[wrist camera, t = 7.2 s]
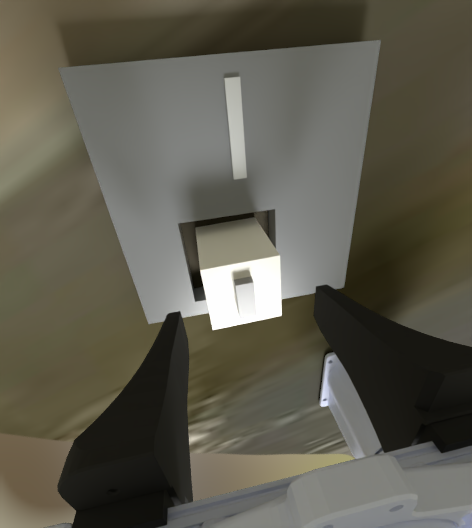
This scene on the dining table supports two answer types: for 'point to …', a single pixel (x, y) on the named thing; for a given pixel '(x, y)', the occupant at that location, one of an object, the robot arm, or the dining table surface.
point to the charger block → (239, 272)
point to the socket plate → (229, 157)
